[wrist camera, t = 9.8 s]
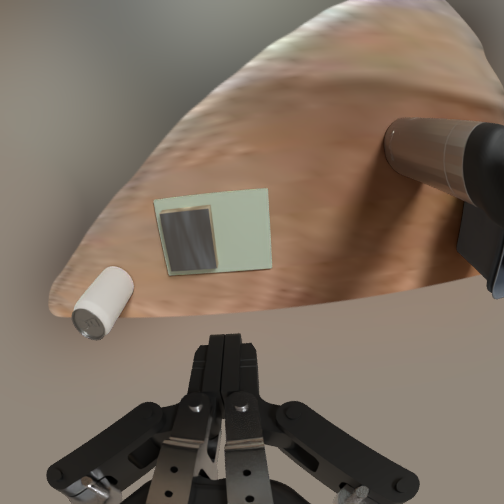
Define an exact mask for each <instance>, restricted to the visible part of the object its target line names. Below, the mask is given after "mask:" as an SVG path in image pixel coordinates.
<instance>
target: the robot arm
mask: <svg viewBox="0 0 504 504" xmlns="http://www.w3.org/2000/svg"><path fill="white" fill-rule="evenodd" d="M384 149H385V154H386V158H387V160H388V162H389V164H390V165H391V167H392V168H393V169H394V170H395V171H396V172H398V173H399V174H401V175H404V176H406V177H409V178H412V179H414V180H417V181H419V182H422V183H424V184H427V185H429V186H431V187H434V188H436V189H439V190H441V191H443V192H446V193H448V194H450V195H452V196H454V197H457V198H459V199H461V200H463V201H466V202H468V203H470V204H472V205H474V206H476V207H478V208H480V209H482V210H484V212H485V213H486V215H487V216H488V217H489V218H490V220H492V221H493V222H494V223H495V224H496V225H498V226H499V227H501V228H502V229H504V126H503V125H500V124H495V123H487V122H478V121H468V120H455V119H439V118H400V119H398V120H396V121H394V122H393V123H392V124H391V125H390V127H389V128H388V130H387V132H386V135H385V139H384ZM222 419H225V430H226V444H225V447H224V449H225V450H224V452H225V470H226V478H224V479H219V480H218V470H217V461H218V455H219V448H220V441H221V434H222V431H221V421H222ZM264 444H266V445H271V446H275V447H278V448H279V449H280V450H281V451H282V452H283V453H285V454H286V455H287V456H288V457H289V458H291V459H292V460H293V461H294V462H295V463H297V464H298V465H299V466H300V467H302V468H303V469H304V470H306V471H307V472H308V473H310V474H311V475H312V476H313V477H315V478H316V479H317V480H319V481H321V482H322V483H323V484H324V485H326V486H327V487H329V488H330V489H331V490H333V491H334V492H336V493H337V495H336V496H335V498H334V500H333V504H403V503H405V502H406V501H408V500H410V499H412V498H413V497H414V496H415V495H416V493H417V492H418V490H419V485H420V483H419V479H418V477H417V476H416V475H415V474H414V473H413V472H411V471H409V470H407V469H405V468H403V467H402V466H400V465H398V464H396V463H394V462H393V461H391V460H389V459H387V458H386V457H384V456H382V455H381V454H379V453H377V452H376V451H374V450H372V449H371V448H369V447H367V446H366V445H364V444H363V443H361V442H359V441H358V440H356V439H355V438H353V437H351V436H350V435H349V434H347V433H346V432H344V431H343V430H341V429H339V428H338V427H336V426H335V425H334V424H332V423H331V422H329V421H328V420H326V419H325V418H323V417H322V416H321V415H319V414H318V413H316V412H315V411H314V410H312V409H311V408H309V407H308V406H307V405H305V404H304V403H301V402H298V401H290V402H286V403H284V404H282V405H281V406H280V405H275V404H270V403H268V402H265V401H264V400H263V399H261V397H260V395H259V380H258V365H257V354H256V349H255V348H254V346H253V345H252V343H246V344H245V343H244V344H242V339H241V334H239V333H238V334H226V335H224V334H221V335H210V338H209V345H200V347H199V348H198V349H197V351H196V352H195V356H194V362H193V366H192V371H191V377H190V382H189V388H188V393H187V395H185V396H184V397H183V398H182V399H181V401H180V402H179V403H178V404H176V405H172V406H167V407H162V408H161V407H160V406H159V405H158V404H156V403H153V402H145V403H142V404H140V405H139V406H137V407H136V408H134V409H133V410H132V411H130V412H129V413H128V414H126V415H125V416H124V417H122V418H121V419H119V420H118V421H116V422H115V423H114V424H112V425H111V426H110V427H108V428H107V429H105V430H104V431H102V432H101V433H100V434H98V435H97V436H95V437H94V438H92V439H91V440H89V441H88V442H87V443H85V444H83V445H82V446H80V447H79V448H77V449H76V450H74V451H73V452H71V453H70V454H68V455H67V456H65V457H64V458H62V459H60V460H59V461H57V462H56V463H54V464H53V465H51V466H50V467H49V468H48V470H47V481H48V483H49V484H50V485H51V486H52V487H53V488H54V489H56V490H58V491H60V492H61V493H63V494H64V495H65V496H67V497H68V499H69V501H70V502H71V504H310V503H309V502H308V501H306V500H305V499H304V498H303V497H302V496H300V495H299V494H298V493H297V492H296V491H295V490H293V489H292V488H290V487H289V486H287V485H285V484H283V483H281V482H278V481H275V480H271V479H269V474H268V466H267V460H266V454H265V447H264ZM155 466H156V467H155ZM154 467H155V470H154V474H153V478H152V480H150V481H148V482H147V483H145V484H144V485H143V486H141V487H140V488H139V489H138V490H136V491H135V492H134V493H133V494H131V495H130V496H129V497H127V498H126V499H125V500H124V501H122V493H121V492H122V491H123V490H125V489H126V488H127V487H129V486H130V485H131V484H133V483H134V482H135V481H137V480H138V479H140V478H141V477H142V476H143V475H145V474H146V473H147V472H149V471H150V470H151V469H153V468H154Z"/></svg>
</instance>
